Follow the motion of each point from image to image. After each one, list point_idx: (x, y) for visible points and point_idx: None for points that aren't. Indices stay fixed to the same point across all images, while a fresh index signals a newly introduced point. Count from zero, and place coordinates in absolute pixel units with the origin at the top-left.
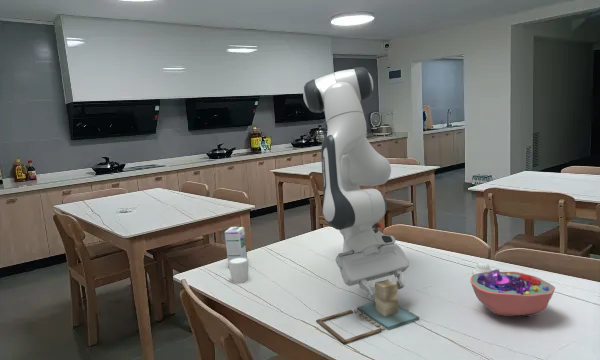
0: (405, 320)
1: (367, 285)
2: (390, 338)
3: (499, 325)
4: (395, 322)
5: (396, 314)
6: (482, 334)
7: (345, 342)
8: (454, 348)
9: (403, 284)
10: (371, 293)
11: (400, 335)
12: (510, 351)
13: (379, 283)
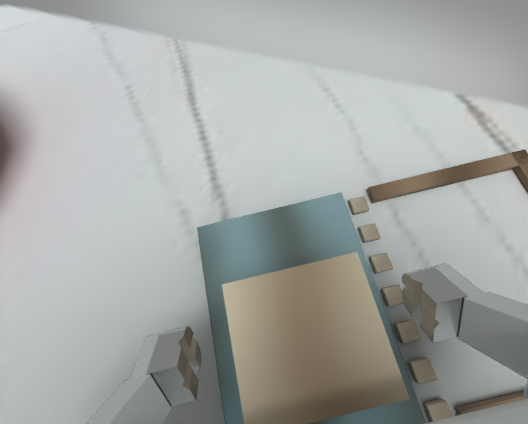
0: (259, 216)
1: (516, 313)
2: (350, 147)
3: (25, 127)
4: (301, 214)
5: None
6: (101, 102)
7: (516, 152)
8: (208, 66)
9: (153, 336)
10: (448, 265)
11: (312, 154)
12: (109, 35)
13: (365, 359)
